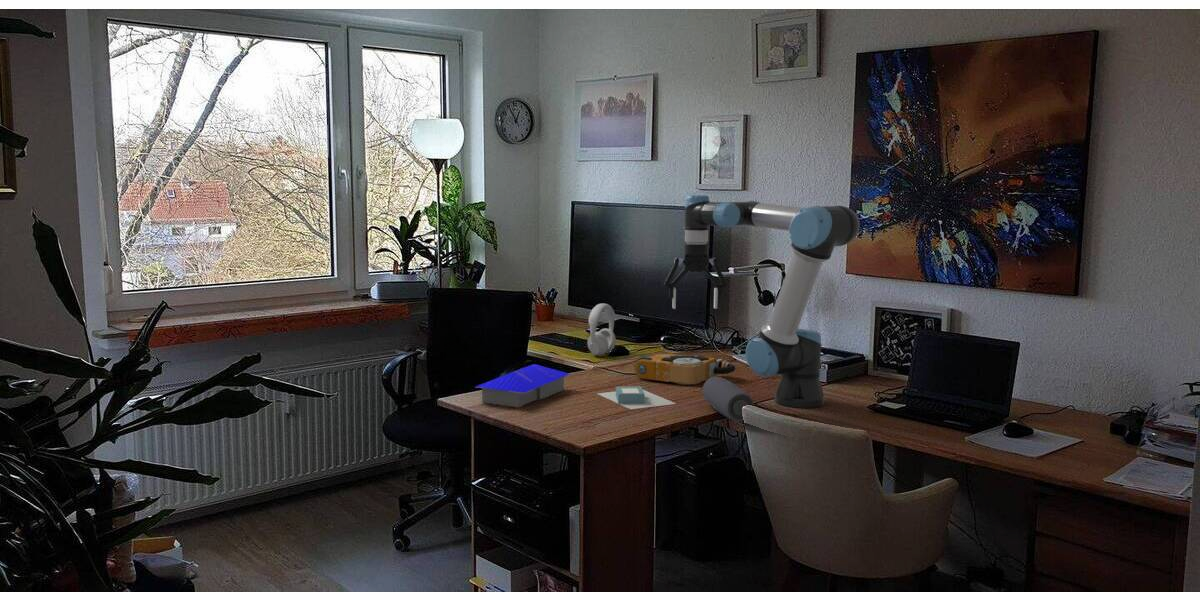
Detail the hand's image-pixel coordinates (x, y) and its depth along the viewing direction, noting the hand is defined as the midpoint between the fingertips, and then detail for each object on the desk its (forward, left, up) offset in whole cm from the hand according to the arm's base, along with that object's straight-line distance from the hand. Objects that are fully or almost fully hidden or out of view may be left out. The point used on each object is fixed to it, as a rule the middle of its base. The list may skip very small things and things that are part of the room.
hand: (694, 308), depth 318 cm
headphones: (+63, +1, -27) cm, 69 cm away
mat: (-6, +25, -27) cm, 37 cm away
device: (+13, -5, -27) cm, 31 cm away
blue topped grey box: (+14, +54, -27) cm, 62 cm away
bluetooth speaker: (-34, +10, -27) cm, 45 cm away
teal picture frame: (-2, +25, -25) cm, 35 cm away
